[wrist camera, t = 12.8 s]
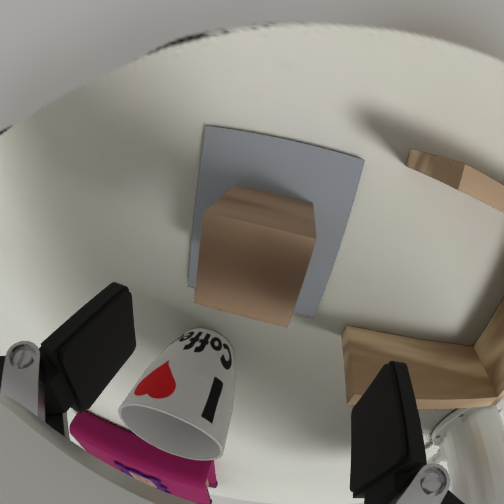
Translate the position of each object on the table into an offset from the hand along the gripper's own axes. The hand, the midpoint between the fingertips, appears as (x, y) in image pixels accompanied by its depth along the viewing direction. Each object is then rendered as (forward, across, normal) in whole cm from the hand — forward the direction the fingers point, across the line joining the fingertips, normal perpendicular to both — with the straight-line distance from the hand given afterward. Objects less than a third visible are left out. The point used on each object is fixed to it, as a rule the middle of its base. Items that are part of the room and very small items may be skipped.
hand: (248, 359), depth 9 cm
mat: (+11, +2, -1) cm, 11 cm away
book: (+12, +14, +52) cm, 56 cm away
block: (+10, +1, -1) cm, 11 cm away
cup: (+12, +4, +12) cm, 17 cm away
